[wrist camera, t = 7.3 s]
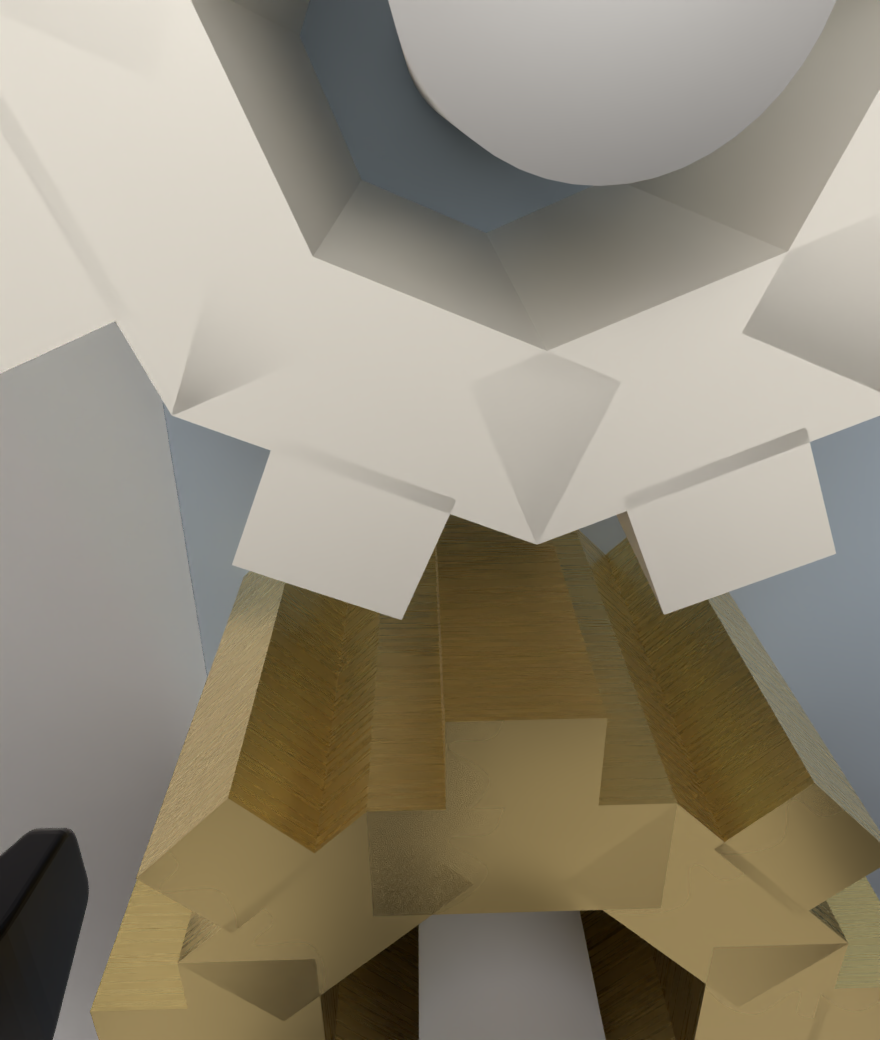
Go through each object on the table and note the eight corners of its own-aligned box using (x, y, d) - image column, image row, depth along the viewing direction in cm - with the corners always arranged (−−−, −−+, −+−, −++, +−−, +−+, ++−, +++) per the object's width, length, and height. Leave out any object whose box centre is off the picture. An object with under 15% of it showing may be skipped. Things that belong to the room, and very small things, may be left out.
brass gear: (785, 460, 10) (1036, 707, 6) (705, 884, 13) (832, 1232, 9) (172, 470, 10) (4, 732, 6) (242, 898, 13) (166, 1256, 9)
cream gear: (931, 244, 9) (1358, 368, 5) (317, 492, 10) (252, 761, 6) (781, -746, 6) (1597, -2616, 2) (-76, -234, 7) (-754, -689, 3)
